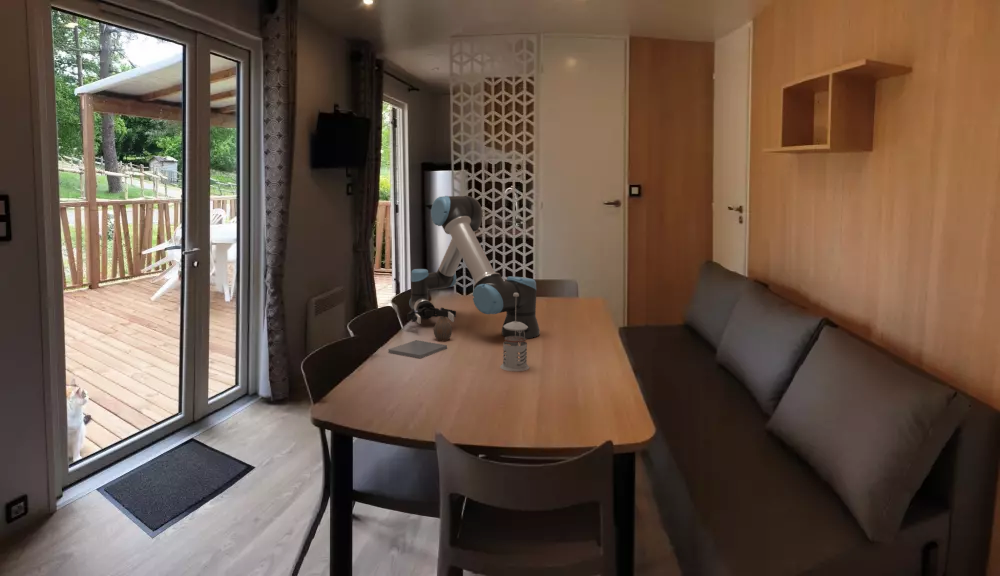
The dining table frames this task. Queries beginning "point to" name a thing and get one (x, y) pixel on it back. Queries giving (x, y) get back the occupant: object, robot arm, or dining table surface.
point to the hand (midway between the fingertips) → (436, 319)
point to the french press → (515, 347)
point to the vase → (442, 329)
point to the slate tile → (417, 349)
